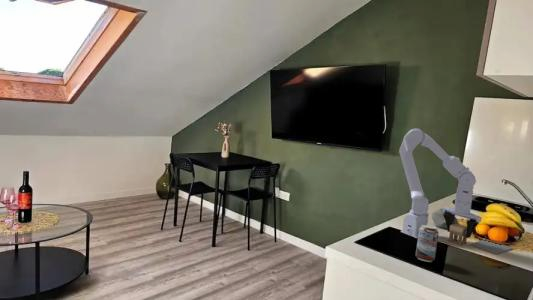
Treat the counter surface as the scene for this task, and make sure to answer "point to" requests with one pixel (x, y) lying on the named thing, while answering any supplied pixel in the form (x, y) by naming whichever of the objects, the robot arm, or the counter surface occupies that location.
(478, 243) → the mat
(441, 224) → the stone
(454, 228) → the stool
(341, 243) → the counter surface
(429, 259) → the beverage can
